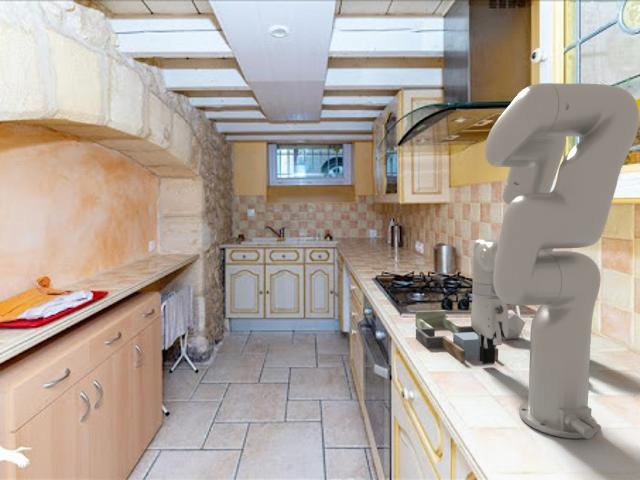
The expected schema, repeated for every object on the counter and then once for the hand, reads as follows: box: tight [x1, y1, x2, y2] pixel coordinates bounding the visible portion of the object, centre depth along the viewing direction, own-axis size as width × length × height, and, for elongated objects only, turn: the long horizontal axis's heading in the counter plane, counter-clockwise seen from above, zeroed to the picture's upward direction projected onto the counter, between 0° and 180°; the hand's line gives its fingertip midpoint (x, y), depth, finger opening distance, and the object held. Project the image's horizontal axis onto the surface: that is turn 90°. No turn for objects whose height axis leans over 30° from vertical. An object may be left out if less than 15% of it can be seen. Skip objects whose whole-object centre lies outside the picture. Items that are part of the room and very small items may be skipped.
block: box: [452, 332, 481, 359], centre depth 113 cm, size 6×6×5 cm
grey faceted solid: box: [501, 309, 526, 341], centre depth 126 cm, size 8×9×10 cm
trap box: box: [415, 309, 499, 363], centre depth 123 cm, size 33×19×5 cm, turn 7°
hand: (487, 362), depth 104 cm, fingers closed
